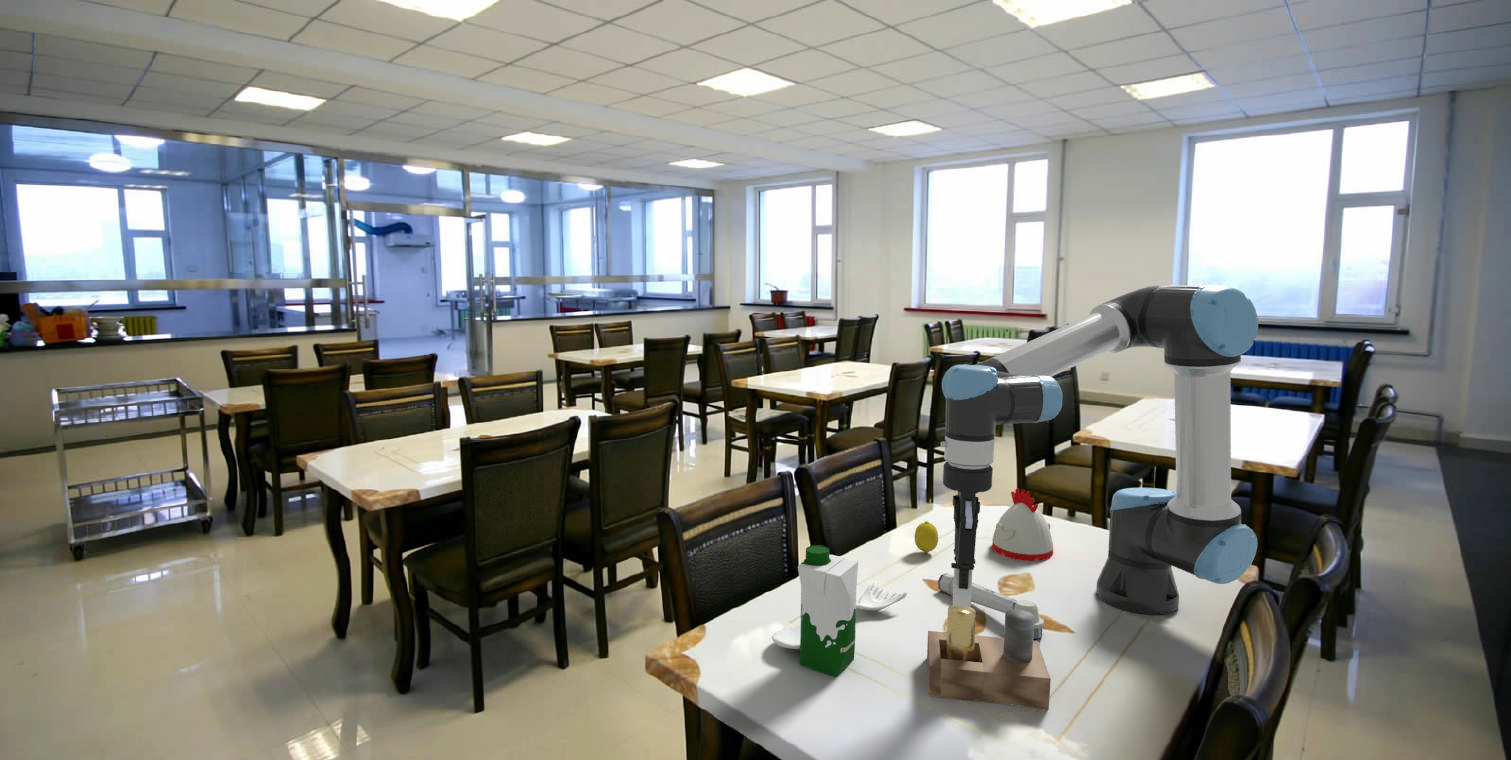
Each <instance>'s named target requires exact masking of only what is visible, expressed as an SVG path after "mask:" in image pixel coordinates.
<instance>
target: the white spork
mask: <svg viewBox="0 0 1511 760" xmlns="http://www.w3.org/2000/svg"><path fill="white" fill-rule="evenodd" d="M879 588H880V587H879V586H875V583H874V582H871V583H870V584H869V585H868V587H867V588H866V589H865V591H864V592H863V594H861V596H860V597H859V599H858V600H859V601H858V602H856V609H859V610H865V611H879V610H880V611H881V610H882V609H883V610H884V609H885V608H889V607H890V606H891V605H894V604H896V603H898V602H900V601H902V600H903V599H905V598H906V597H907V595H908V592H907V591H904V592H903V593H901V592H898V593H897V592H893V593H891V594H890V591H888V590H887V591H886V592H884V593H883V590H884V589H883V588H880V589H879ZM882 593H883V594H882ZM889 594H890V595H889ZM800 637H801V624H797V625H794V626H791V627H788V628H785V629H782V630H780V631H776V632H775V633H774V634H772V636H771V639H772V641H773V643H774V644H775V645H777V646H779V647H780V648H784V649H791V650H800Z"/></svg>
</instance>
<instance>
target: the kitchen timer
mask: <svg viewBox="0 0 1511 760" xmlns="http://www.w3.org/2000/svg"><path fill="white" fill-rule="evenodd" d="M1010 494H1011V495H1010V496H1011V498H1012V502H1013V505H1011V506H1010V507H1009V508H1008V509H1006V511H1005V512H1004V513H1003V514H1002V516H1000V518H999V520H998V522H997V523H996V524H995V530H994V532H993V534H992V545H991V546H992V550H993V551H994V552H995V553H997V554H998V555H1000V556H1003V557H1005V558H1008V559H1012V560H1018V561H1024V562H1025V561H1027V562H1028V561H1029V562H1037V561H1038V562H1039V561H1045V560H1046V561H1047V560H1049V559H1051V558H1052V557H1053V556H1054V541H1053V538H1052V534H1051V523H1049V522H1047V520H1046V518H1045V516H1044V515H1043V514H1042V512H1041V511H1040V510H1039V509H1038V508H1039V503H1037V504H1034V502H1035V497H1031V494H1030V491H1026V489H1021V490H1020V488H1019V487H1018V488H1015V489H1014V491H1011V492H1010Z"/></svg>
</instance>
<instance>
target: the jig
mask: <svg viewBox="0 0 1511 760" xmlns="http://www.w3.org/2000/svg"><path fill="white" fill-rule="evenodd" d="M1004 616H1005V617H1004V632H1003V633H1004V634H1003V637H999V636H990V635H989V636H988V635H978V634H977V635H976V634H975V643H974V662H969V661H959V660H949V659H946V646H947V631H946V632H943V631H936V630H934V631H933V630H927V649H926V651H927V652H926V662H927V663H926V664H927V666H926V667H927V683H928V696H929V697H937V698H948V699H956V700H965V701H966V700H967V701H974V702H982V701H983V703H993V704H1001V705H1009V704H1013V705H1012V706H1018V705H1020V706H1021V707H1030V708H1036V709H1038V708H1039V709H1046V710H1047V709H1048V710H1049V709H1050V695H1051V693H1050V692H1051V680H1052V679H1051V676H1050V674H1049V670H1048V668H1047V667H1048V666H1047V665H1046V662H1045V659H1044V656H1043V653H1042V650H1041V648H1040V645H1039V641H1038V640H1034V639H1033V633H1034V616H1033V615H1032V614H1031V613H1029V612H1027V611H1024V610H1018V609H1012V610H1008V611H1006V613H1004ZM1020 706H1019V707H1020Z"/></svg>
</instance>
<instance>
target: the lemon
mask: <svg viewBox="0 0 1511 760" xmlns="http://www.w3.org/2000/svg"><path fill="white" fill-rule="evenodd" d="M938 542H939V532H938V529H937V528H936V526H935V525H934V524H933V523H931V522H929V521H927V520H925V521H924V522H921V523H919V524H918V525H917V527H916V528H915V532H914V543H915V545H916V547H917V549H919V551H922V552H923V553H924V554H925V555H926V554H928V553H929V552H932V551H934V550H935V549H936V548H937V546H938Z"/></svg>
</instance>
